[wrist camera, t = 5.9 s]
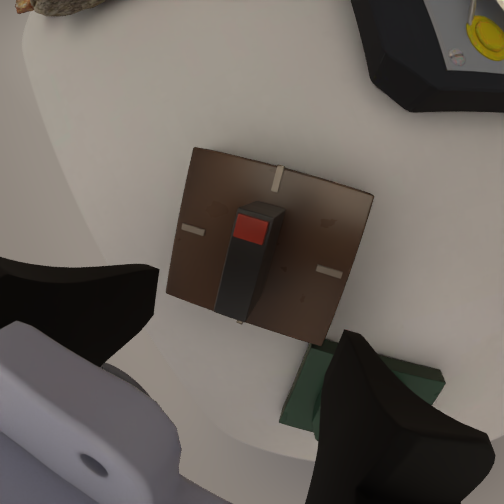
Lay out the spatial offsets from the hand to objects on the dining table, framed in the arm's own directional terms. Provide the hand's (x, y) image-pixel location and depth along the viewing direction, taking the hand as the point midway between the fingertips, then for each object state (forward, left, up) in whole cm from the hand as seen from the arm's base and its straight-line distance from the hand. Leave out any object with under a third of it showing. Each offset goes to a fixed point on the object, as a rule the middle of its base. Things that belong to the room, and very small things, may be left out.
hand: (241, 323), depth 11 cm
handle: (-1, +1, -6) cm, 7 cm away
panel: (-1, +1, -9) cm, 9 cm away
